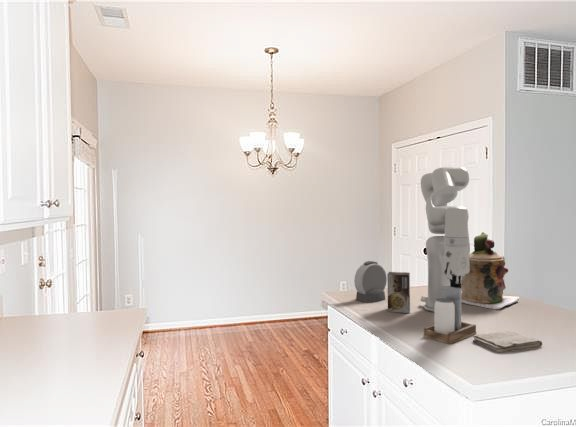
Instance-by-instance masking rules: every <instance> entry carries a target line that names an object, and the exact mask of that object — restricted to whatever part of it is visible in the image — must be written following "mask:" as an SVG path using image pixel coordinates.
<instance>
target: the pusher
mask: <svg viewBox="0 0 576 427" xmlns="http://www.w3.org/2000/svg"><path fill="white" fill-rule="evenodd" d="M461 294H462V288H459V287H452V286H446V285H441V298H445V299H451V300H453V303H454V305H455V331H457V330H460V329H461V322H462V302H461Z"/></svg>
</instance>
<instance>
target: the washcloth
mask: <svg viewBox="0 0 576 427" xmlns="http://www.w3.org/2000/svg"><path fill="white" fill-rule="evenodd" d="M472 338H473V340H472V342H475V343H476V344H478V345H479V346H482V347H484V348H486V349H489V350H491V351H493V352H496V353H506V352H508V353H509V352H514V351H515V352H516V351H523V350H530V349H537V348H541V347H542V346H543V341H541V340H539V339H536V338H533V337H531V336H527V335H523V334H522V333H519V332H515V331H512V330H509V331H496V332H489V333H482V334H474V335H472Z"/></svg>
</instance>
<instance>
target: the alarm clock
mask: <svg viewBox="0 0 576 427" xmlns="http://www.w3.org/2000/svg"><path fill="white" fill-rule="evenodd" d="M387 283H388V281H387V272H386V270H385V269H384V267H383V266H382V265H381V264H378V262H377V261H373V260H368V261H365V262H363V264H361V265H360V266H359V267H358V268H357V270H356V271H355V275H354V286H355V287H354V288H355V290H356V295H355V296H356V297H355V300H356V301H359V302H362V303H366V304H368V303H379V302H383V301H386V294H385V289H386V286H387Z"/></svg>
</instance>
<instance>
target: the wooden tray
mask: <svg viewBox="0 0 576 427" xmlns="http://www.w3.org/2000/svg"><path fill="white" fill-rule="evenodd" d="M474 335H477V324H474V323H470V322H466V321H465V322H464V321H461V329H460V330H457V331H454V332H452V333H449V334H448V335H446V334H442V333H438V332H435V331H434V324H432V325H428V326H425V327H424V328H423V337H424V338H427V339H431V340H434V341H438V342H443V343H446V344H449V345H452V344H455V343H457V342H459V341H460V342H461V341H462V340H464V339H467V338H469V337H471V336H472V337H473V336H474Z"/></svg>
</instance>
